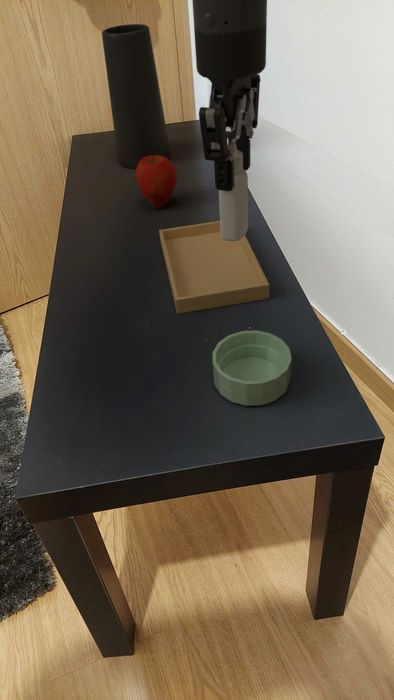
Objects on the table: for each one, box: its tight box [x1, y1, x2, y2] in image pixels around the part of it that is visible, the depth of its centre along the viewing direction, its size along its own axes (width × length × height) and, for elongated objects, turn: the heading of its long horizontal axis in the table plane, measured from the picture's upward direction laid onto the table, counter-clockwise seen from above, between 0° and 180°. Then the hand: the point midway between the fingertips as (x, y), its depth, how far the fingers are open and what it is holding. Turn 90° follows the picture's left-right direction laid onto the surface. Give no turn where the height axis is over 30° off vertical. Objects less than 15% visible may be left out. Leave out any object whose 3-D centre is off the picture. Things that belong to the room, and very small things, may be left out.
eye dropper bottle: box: [218, 143, 249, 241], centre depth 65 cm, size 4×6×12 cm
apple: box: [135, 155, 178, 209], centre depth 107 cm, size 9×8×11 cm
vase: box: [101, 23, 172, 170], centre depth 122 cm, size 14×14×29 cm
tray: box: [158, 220, 270, 315], centre depth 90 cm, size 23×15×3 cm, turn 10°
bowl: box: [212, 330, 293, 407], centre depth 68 cm, size 10×10×4 cm
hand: (233, 178), depth 64 cm, fingers closed on eye dropper bottle, 5 cm apart
